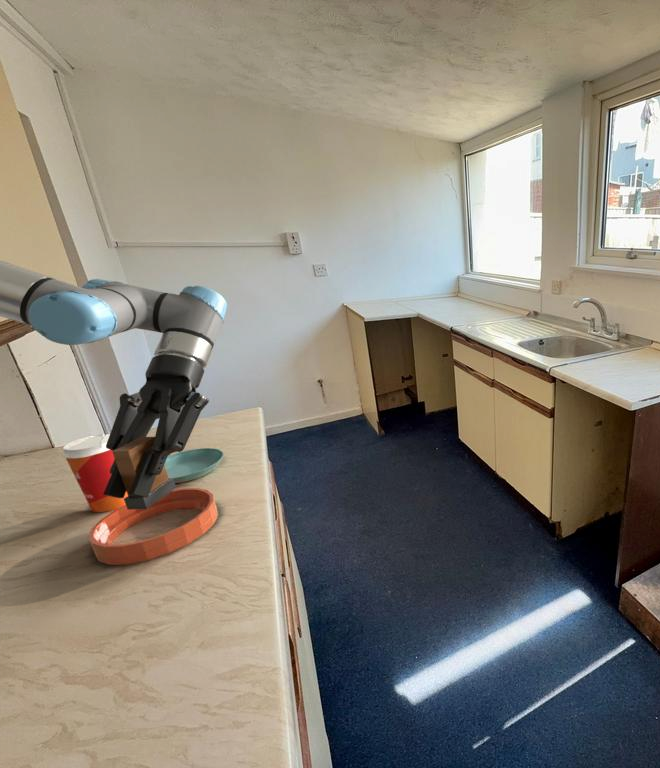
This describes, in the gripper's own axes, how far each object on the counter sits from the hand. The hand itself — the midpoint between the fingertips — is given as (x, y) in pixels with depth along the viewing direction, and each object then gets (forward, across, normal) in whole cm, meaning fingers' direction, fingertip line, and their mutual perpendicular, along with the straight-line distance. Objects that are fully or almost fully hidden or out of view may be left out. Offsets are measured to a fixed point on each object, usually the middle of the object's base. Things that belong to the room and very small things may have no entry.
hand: (126, 495), depth 60 cm
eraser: (-1, 0, -5) cm, 5 cm away
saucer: (-13, +18, -34) cm, 40 cm away
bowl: (+4, +6, -17) cm, 19 cm away
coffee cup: (-3, +23, -24) cm, 33 cm away
